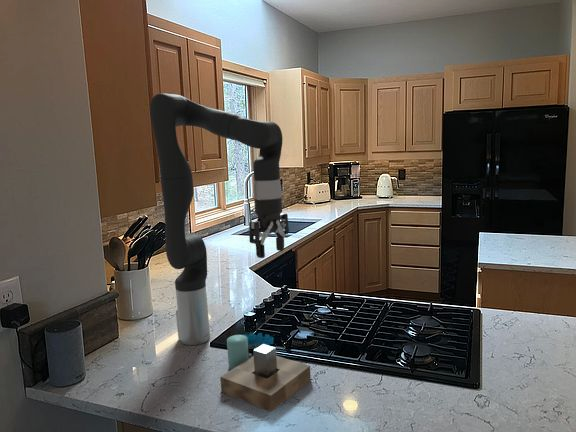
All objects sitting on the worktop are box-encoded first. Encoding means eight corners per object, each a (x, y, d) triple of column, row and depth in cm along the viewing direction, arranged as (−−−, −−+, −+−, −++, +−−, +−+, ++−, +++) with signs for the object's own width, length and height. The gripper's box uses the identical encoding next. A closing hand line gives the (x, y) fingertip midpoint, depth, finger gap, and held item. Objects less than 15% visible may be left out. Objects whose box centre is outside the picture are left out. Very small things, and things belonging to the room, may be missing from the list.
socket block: (221, 391, 116) (220, 376, 116) (262, 364, 129) (261, 351, 128) (271, 411, 107) (270, 395, 106) (310, 380, 119) (310, 365, 119)
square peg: (255, 387, 117) (253, 350, 116) (265, 380, 121) (263, 344, 119) (268, 391, 115) (265, 354, 113) (278, 384, 118) (275, 347, 117)
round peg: (224, 368, 128) (222, 340, 127) (238, 359, 133) (236, 333, 131) (239, 373, 125) (237, 345, 123) (253, 364, 129) (251, 337, 128)
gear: (277, 341, 139) (268, 328, 131) (277, 361, 136) (267, 349, 128) (242, 345, 141) (231, 333, 134) (241, 364, 138) (229, 353, 130)
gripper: (273, 192, 135) (276, 246, 138) (239, 199, 124) (243, 258, 127) (294, 193, 130) (296, 249, 133) (261, 200, 119) (264, 262, 122)
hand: (270, 253), depth 130 cm, fingers open, 8 cm apart
